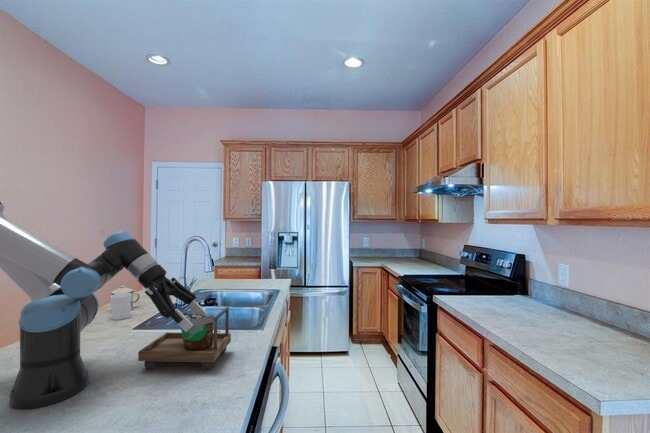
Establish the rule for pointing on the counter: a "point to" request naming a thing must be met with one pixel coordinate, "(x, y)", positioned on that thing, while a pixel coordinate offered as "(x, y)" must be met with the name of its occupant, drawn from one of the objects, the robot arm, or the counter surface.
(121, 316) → the white cup
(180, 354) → the dolly
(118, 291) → the teacup with lid
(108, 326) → the counter surface
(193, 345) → the food container
